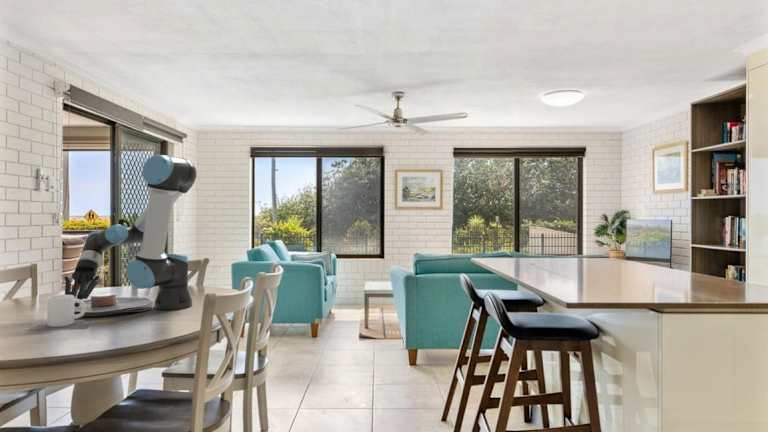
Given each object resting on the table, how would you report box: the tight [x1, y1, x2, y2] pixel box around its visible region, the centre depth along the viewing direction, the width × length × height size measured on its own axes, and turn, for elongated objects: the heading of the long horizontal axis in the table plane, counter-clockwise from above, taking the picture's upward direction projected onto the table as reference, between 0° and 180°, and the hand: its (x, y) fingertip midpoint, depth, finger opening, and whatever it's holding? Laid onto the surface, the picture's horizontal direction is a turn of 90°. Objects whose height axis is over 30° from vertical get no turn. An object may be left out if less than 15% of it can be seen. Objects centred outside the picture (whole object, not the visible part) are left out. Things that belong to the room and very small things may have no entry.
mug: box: [46, 294, 87, 327], centre depth 176 cm, size 12×8×10 cm
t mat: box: [26, 319, 96, 332], centre depth 175 cm, size 19×14×1 cm
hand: (69, 313), depth 180 cm, fingers closed
